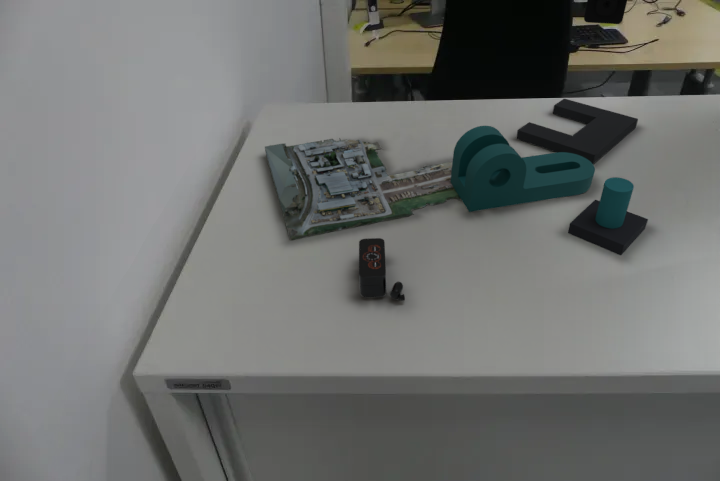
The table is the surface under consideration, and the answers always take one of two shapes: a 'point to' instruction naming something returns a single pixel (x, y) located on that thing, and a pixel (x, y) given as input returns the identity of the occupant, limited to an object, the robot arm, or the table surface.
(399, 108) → the table surface
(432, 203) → the model
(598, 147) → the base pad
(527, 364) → the table surface
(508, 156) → the bracket
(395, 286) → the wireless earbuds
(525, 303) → the table surface
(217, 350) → the table surface
